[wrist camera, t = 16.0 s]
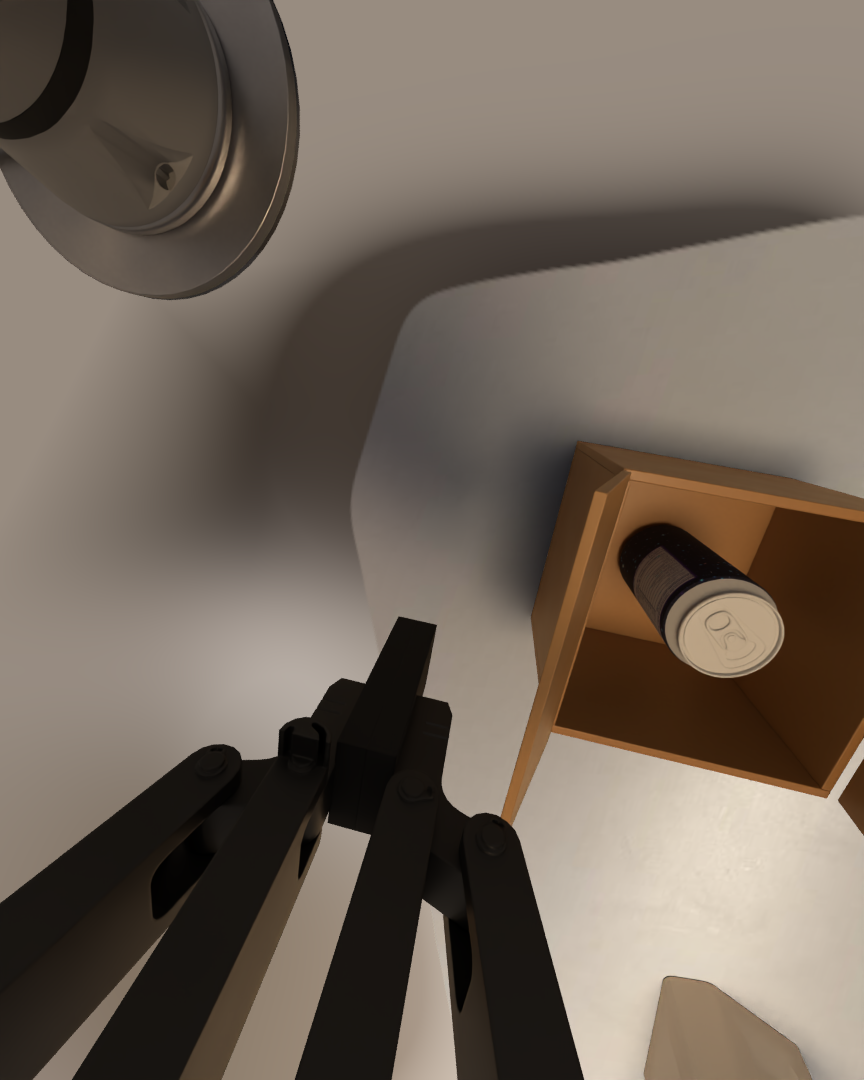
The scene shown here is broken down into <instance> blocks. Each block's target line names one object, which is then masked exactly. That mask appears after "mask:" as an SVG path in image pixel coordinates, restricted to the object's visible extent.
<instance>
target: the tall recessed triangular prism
mask: <svg viewBox="0 0 864 1080" xmlns="http://www.w3.org/2000/svg"><path fill="white" fill-rule="evenodd" d="M644 1076H645V1080H812V1078H811V1076H810V1073H809V1071H808V1069H807V1067H806V1065H805V1062H804V1060H803V1058H802V1056H801V1053H800V1051H799V1049H798V1047H797V1046H796V1045H795V1044H794V1043H792V1042H791V1041H789V1040H788V1039H787V1038H785V1037H784V1036H783V1035H781V1034H780V1033H778V1032H777V1031H776V1030H774V1029H773V1028H772V1027H770V1026H769V1025H767V1024H766V1023H765V1022H763V1021H762V1020H761V1019H759V1018H758V1017H756V1016H755V1015H754V1014H752V1013H751V1012H749V1011H748V1010H747V1009H745V1008H744V1007H743V1006H741V1005H740V1004H738V1003H737V1002H736V1001H734V1000H733V999H732V998H730V997H729V996H727V995H726V994H725V993H723V992H722V991H720V990H719V989H718V988H716V987H715V986H713V985H712V984H709V983H707V982H702V981H696V980H690V979H684V978H678V977H667V978H665V979H664V980H663V984H662V989H661V994H660V999H659V1003H658V1008H657V1013H656V1018H655V1023H654V1027H653V1032H652V1037H651V1042H650V1047H649V1051H648V1056H647V1061H646V1066H645V1071H644Z"/></svg>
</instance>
